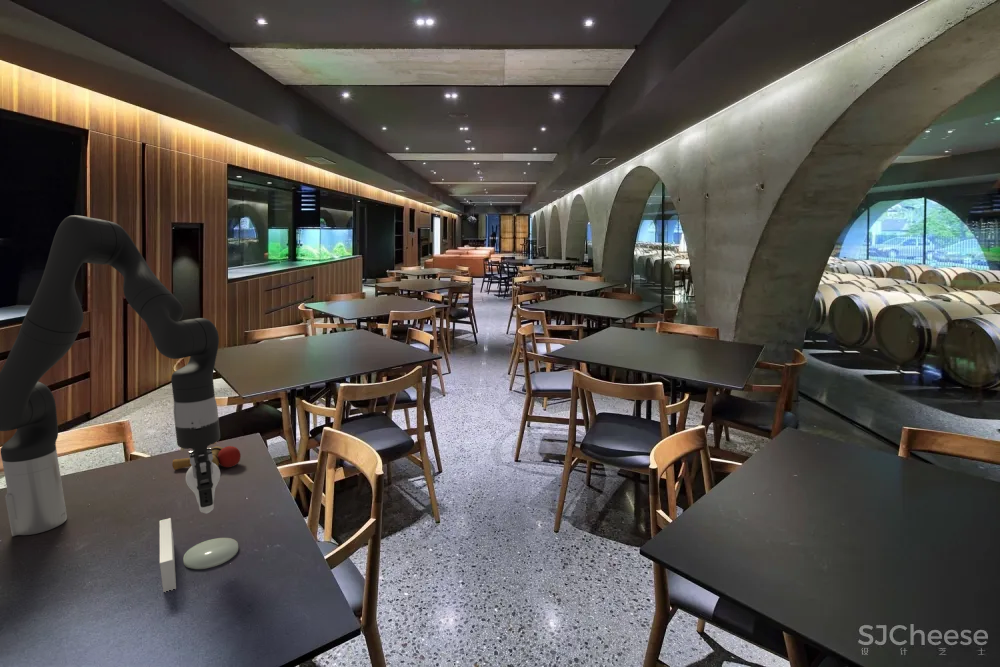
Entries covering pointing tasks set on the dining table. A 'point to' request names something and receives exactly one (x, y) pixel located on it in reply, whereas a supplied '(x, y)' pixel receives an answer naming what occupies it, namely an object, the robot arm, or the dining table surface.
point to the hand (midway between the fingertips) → (205, 499)
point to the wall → (167, 555)
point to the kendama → (214, 458)
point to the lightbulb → (193, 482)
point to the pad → (210, 553)
